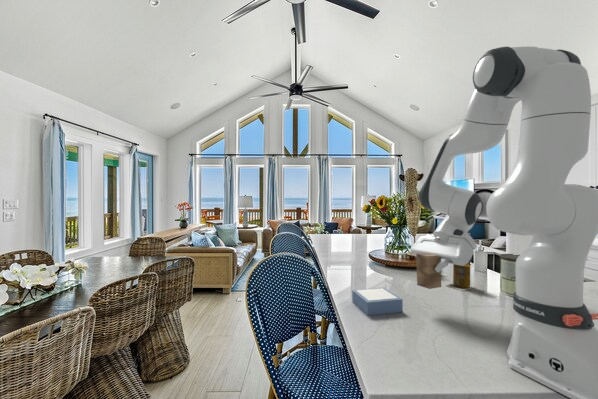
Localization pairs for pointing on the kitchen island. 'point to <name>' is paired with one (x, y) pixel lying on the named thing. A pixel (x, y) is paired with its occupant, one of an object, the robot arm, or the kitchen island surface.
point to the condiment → (461, 277)
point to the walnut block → (428, 271)
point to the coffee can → (508, 274)
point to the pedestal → (377, 301)
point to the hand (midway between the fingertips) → (427, 269)
